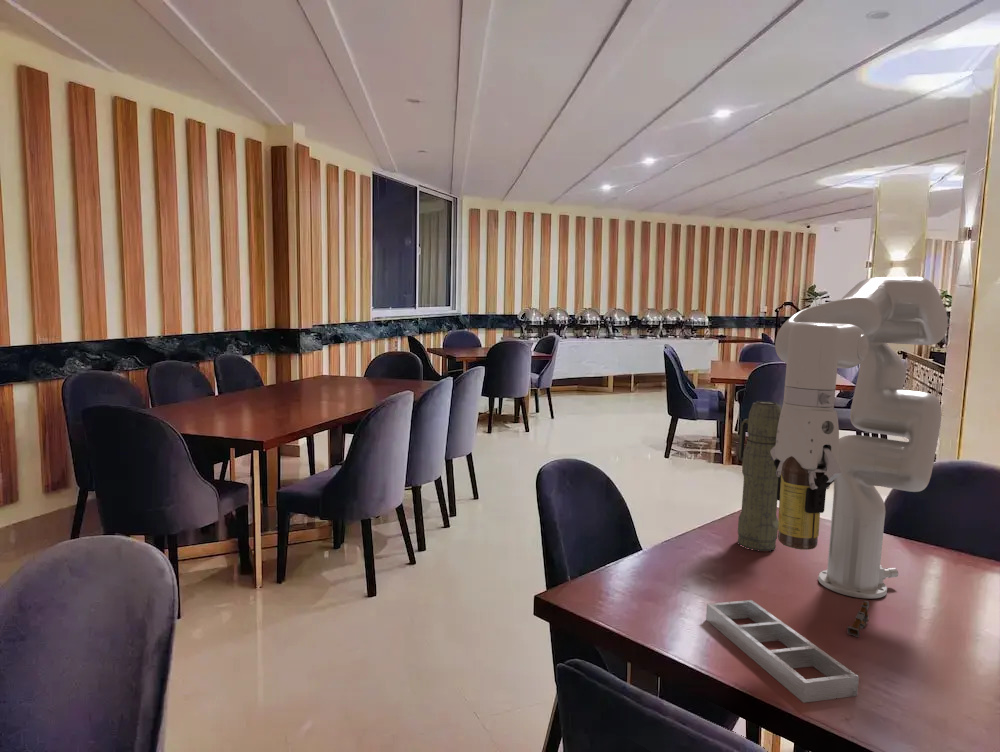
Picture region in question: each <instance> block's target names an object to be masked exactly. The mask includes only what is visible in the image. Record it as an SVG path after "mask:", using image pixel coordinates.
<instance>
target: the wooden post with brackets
mask: <svg viewBox="0 0 1000 752" xmlns="http://www.w3.org/2000/svg"><path fill="white" fill-rule="evenodd" d="M869 608H870V601H868V600H863V602H862V603H861V605H860V610H858V612H857V613H856V616H855V618H854V619H855V620H854V621H853V623H852V624H851V626H850V625H848V626H847V629H846V630H847V635H850V636H853V637H857V638H860V630H861V629H862V630H863V629H865V627H866V626H867V624H868V622H869V617H870V616H869V611H868V609H869ZM859 629H860V630H859Z"/></svg>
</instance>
